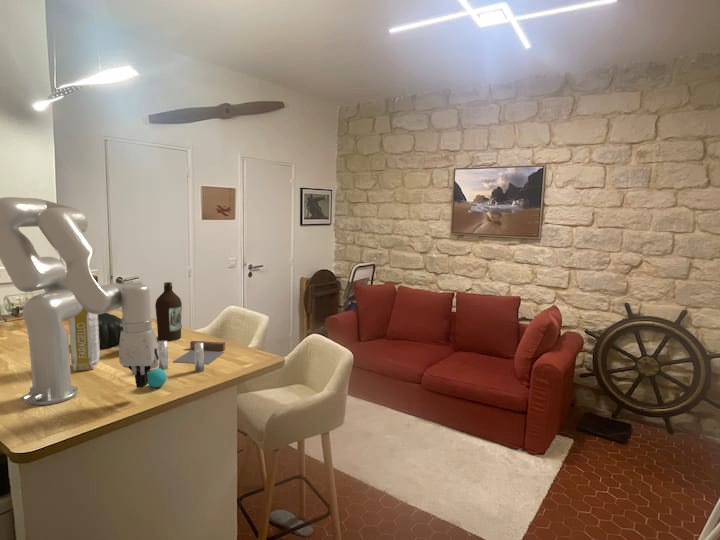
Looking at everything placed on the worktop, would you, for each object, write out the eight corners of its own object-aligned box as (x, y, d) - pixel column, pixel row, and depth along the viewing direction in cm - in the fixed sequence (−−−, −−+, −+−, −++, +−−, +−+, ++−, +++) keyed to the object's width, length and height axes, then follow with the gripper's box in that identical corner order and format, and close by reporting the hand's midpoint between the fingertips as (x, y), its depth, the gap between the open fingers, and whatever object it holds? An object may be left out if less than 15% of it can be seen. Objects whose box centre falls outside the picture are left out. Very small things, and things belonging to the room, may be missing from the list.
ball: (160, 391, 140) (160, 372, 139) (142, 389, 141) (142, 371, 140) (170, 383, 146) (170, 366, 145) (153, 382, 147) (152, 365, 146)
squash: (137, 332, 186) (120, 303, 189) (101, 342, 173) (84, 310, 176) (123, 349, 193) (108, 321, 196) (88, 360, 180) (72, 329, 183)
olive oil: (151, 339, 194) (148, 283, 191) (170, 333, 204) (168, 280, 201) (169, 343, 190) (167, 285, 187) (187, 337, 200) (186, 282, 197)
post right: (201, 372, 157) (201, 345, 156) (193, 372, 157) (192, 344, 156) (205, 369, 160) (204, 342, 159) (197, 369, 160) (196, 342, 159)
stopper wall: (223, 351, 181) (223, 343, 181) (190, 349, 183) (190, 342, 182) (225, 349, 183) (225, 342, 183) (192, 347, 185) (192, 340, 184)
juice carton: (76, 363, 162) (73, 299, 159) (101, 361, 165) (98, 298, 162) (70, 372, 154) (66, 304, 151) (96, 370, 157) (93, 303, 153)
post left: (165, 370, 158) (164, 343, 157) (157, 369, 159) (156, 342, 157) (169, 367, 161) (168, 340, 160) (161, 366, 162) (160, 340, 160)
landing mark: (208, 364, 166) (208, 363, 165) (172, 362, 167) (172, 361, 167) (223, 352, 179) (223, 352, 179) (190, 350, 181) (190, 350, 181)
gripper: (105, 329, 128) (110, 390, 131) (154, 330, 127) (159, 391, 129) (121, 323, 136) (126, 380, 138) (168, 323, 134) (172, 382, 137)
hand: (142, 386), depth 134 cm, fingers closed
